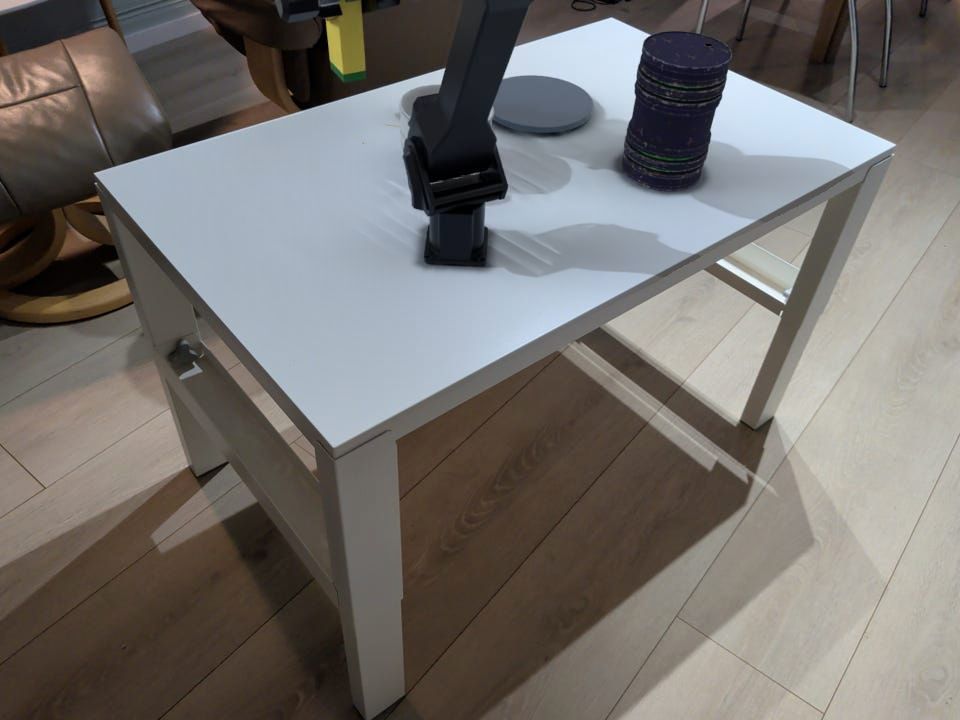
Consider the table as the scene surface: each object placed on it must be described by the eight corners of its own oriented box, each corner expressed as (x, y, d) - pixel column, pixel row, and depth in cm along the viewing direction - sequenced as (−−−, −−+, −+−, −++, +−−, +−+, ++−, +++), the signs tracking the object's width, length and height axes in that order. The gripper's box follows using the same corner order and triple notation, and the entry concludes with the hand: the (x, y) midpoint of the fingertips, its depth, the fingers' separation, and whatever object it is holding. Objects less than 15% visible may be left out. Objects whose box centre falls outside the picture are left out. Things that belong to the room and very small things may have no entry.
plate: (595, 140, 102) (597, 130, 101) (478, 134, 102) (479, 124, 101) (588, 87, 113) (589, 77, 112) (482, 82, 113) (483, 72, 112)
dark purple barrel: (649, 198, 93) (676, 74, 82) (604, 158, 99) (624, 37, 89) (718, 181, 96) (752, 59, 86) (671, 143, 102) (697, 25, 92)
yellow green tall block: (352, 64, 102) (343, -49, 93) (366, 78, 100) (358, -37, 90) (330, 68, 101) (319, -46, 92) (344, 82, 98) (333, -34, 89)
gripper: (427, -142, 85) (388, -60, 100) (256, -126, 78) (241, -40, 93) (460, -40, 86) (417, 27, 100) (294, -15, 79) (273, 52, 93)
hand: (339, 14), depth 97 cm, fingers closed on yellow green tall block, 3 cm apart
